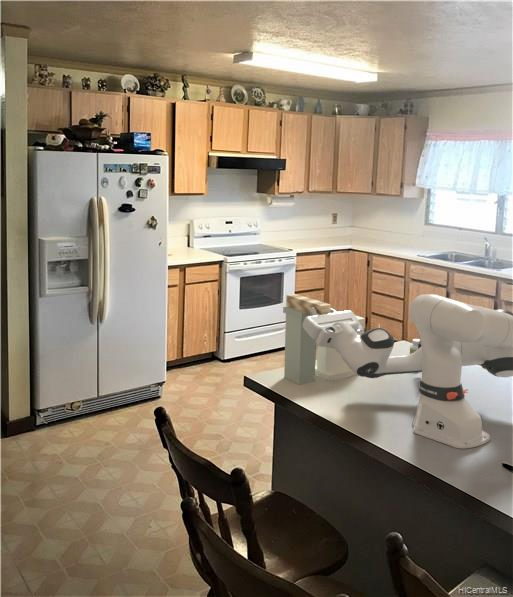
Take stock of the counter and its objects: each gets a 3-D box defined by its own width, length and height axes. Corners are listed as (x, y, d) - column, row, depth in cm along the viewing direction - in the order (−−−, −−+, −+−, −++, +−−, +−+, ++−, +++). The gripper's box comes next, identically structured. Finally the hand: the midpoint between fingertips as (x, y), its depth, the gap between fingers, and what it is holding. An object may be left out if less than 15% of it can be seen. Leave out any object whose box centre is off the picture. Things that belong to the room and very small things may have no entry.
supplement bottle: (407, 364, 248) (408, 340, 246) (410, 361, 253) (412, 337, 251) (421, 367, 246) (423, 342, 244) (424, 363, 251) (426, 339, 249)
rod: (330, 316, 215) (331, 304, 214) (321, 317, 213) (321, 305, 212) (295, 304, 231) (295, 293, 230) (286, 305, 229) (286, 295, 228)
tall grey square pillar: (317, 381, 228) (320, 310, 222) (299, 385, 223) (301, 313, 218) (299, 373, 237) (301, 304, 231) (281, 376, 232) (283, 307, 227)
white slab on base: (370, 371, 239) (373, 320, 235) (329, 381, 229) (331, 326, 224) (349, 363, 249) (351, 313, 245) (308, 371, 238) (310, 319, 234)
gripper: (369, 324, 212) (346, 297, 220) (320, 332, 201) (298, 303, 209) (361, 338, 215) (339, 311, 224) (313, 346, 204) (292, 318, 213)
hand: (319, 307), depth 216 cm, fingers closed on rod, 4 cm apart
